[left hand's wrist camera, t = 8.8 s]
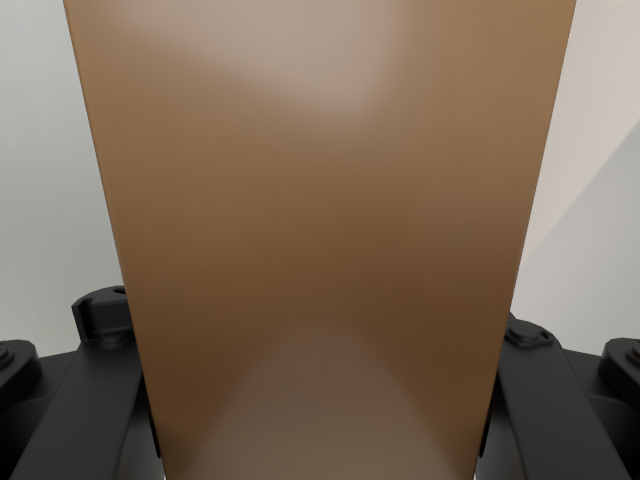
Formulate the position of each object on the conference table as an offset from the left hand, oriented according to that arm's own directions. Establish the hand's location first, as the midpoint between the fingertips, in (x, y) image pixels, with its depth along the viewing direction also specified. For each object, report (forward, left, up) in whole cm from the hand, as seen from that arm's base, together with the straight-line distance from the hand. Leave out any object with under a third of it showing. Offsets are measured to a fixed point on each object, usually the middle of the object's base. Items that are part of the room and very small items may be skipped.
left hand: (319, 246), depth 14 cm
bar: (+10, +3, -1) cm, 10 cm away
